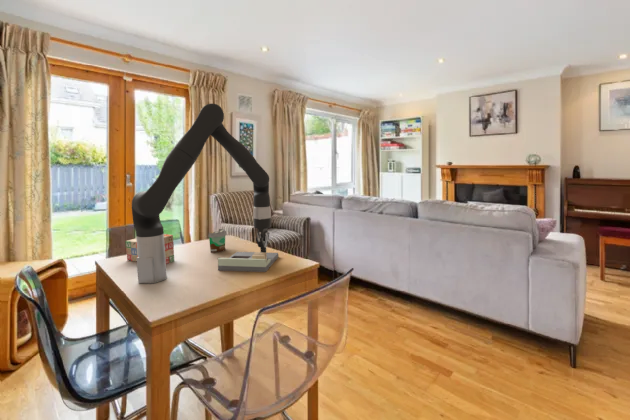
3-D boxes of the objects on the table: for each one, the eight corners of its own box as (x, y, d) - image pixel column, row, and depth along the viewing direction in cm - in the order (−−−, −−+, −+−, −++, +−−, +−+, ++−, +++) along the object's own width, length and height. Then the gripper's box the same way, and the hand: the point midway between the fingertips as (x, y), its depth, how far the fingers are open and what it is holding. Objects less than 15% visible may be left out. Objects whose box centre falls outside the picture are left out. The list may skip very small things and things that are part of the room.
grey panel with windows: (265, 271, 133) (265, 259, 132) (218, 270, 135) (217, 258, 134) (278, 256, 154) (278, 246, 154) (237, 255, 157) (236, 245, 156)
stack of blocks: (126, 260, 150) (124, 234, 149) (137, 257, 156) (135, 231, 154) (164, 265, 144) (162, 237, 142) (175, 261, 149) (173, 234, 148)
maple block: (264, 265, 135) (264, 255, 134) (252, 265, 135) (252, 255, 135) (266, 261, 140) (266, 252, 139) (255, 261, 140) (254, 252, 140)
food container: (221, 253, 161) (220, 233, 159) (209, 253, 162) (208, 233, 160) (231, 247, 173) (230, 228, 171) (220, 247, 174) (219, 228, 172)
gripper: (258, 214, 150) (259, 251, 153) (248, 219, 137) (250, 259, 140) (274, 214, 149) (275, 251, 152) (266, 219, 136) (267, 260, 139)
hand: (263, 255), depth 146 cm, fingers closed
